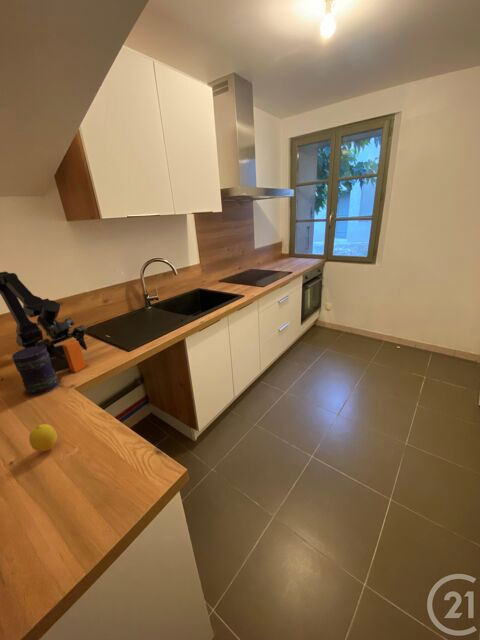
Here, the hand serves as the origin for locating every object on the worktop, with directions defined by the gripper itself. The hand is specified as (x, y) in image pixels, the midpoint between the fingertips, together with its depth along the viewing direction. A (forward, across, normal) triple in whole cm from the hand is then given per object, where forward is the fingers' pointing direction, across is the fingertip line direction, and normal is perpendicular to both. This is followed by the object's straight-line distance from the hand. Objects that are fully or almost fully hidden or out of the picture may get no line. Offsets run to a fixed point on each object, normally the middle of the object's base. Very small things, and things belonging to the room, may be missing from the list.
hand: (75, 354), depth 105 cm
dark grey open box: (-5, 0, +15) cm, 16 cm away
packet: (+4, 0, +6) cm, 7 cm away
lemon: (+28, -30, -18) cm, 44 cm away
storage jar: (+4, -14, +6) cm, 16 cm away
